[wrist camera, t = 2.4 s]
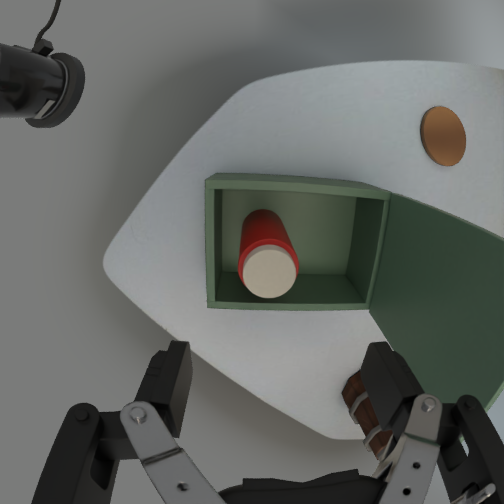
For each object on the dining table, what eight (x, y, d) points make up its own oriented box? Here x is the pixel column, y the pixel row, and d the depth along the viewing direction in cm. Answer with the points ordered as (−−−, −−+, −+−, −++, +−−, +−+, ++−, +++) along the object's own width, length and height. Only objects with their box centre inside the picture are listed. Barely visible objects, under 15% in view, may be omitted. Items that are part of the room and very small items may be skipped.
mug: (376, 407, 44) (399, 467, 30) (329, 399, 42) (347, 469, 28) (428, 349, 39) (469, 407, 25) (385, 333, 37) (428, 403, 23)
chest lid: (449, 451, 10) (495, 427, 10) (554, 269, 6) (580, 269, 6) (368, 311, 26) (407, 309, 26) (391, 192, 22) (432, 199, 22)
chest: (216, 274, 34) (207, 308, 26) (216, 172, 30) (205, 179, 22) (348, 277, 34) (370, 309, 27) (361, 182, 30) (392, 192, 23)
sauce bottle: (234, 220, 31) (225, 262, 19) (271, 201, 30) (285, 232, 19) (253, 255, 32) (255, 312, 21) (290, 237, 31) (311, 286, 20)
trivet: (411, 115, 27) (414, 115, 26) (450, 101, 26) (454, 100, 25) (432, 174, 29) (435, 174, 28) (468, 155, 28) (472, 155, 27)
